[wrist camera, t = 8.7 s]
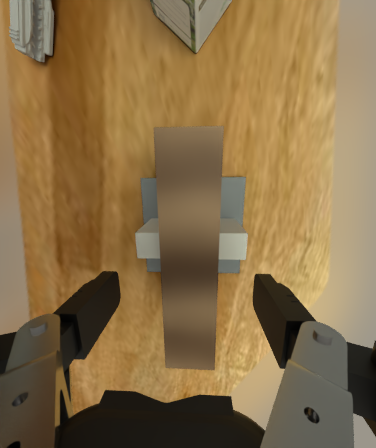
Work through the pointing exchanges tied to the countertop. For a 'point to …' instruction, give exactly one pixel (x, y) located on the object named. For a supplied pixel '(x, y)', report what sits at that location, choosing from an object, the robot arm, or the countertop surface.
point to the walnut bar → (189, 240)
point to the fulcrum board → (226, 211)
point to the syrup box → (190, 18)
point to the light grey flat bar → (32, 27)
